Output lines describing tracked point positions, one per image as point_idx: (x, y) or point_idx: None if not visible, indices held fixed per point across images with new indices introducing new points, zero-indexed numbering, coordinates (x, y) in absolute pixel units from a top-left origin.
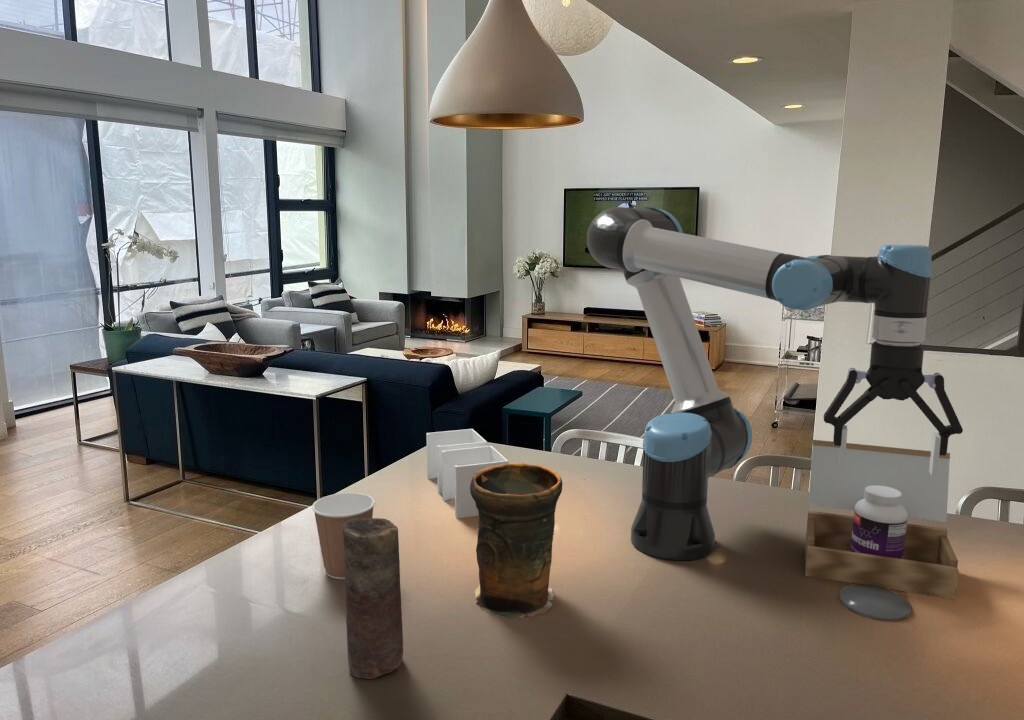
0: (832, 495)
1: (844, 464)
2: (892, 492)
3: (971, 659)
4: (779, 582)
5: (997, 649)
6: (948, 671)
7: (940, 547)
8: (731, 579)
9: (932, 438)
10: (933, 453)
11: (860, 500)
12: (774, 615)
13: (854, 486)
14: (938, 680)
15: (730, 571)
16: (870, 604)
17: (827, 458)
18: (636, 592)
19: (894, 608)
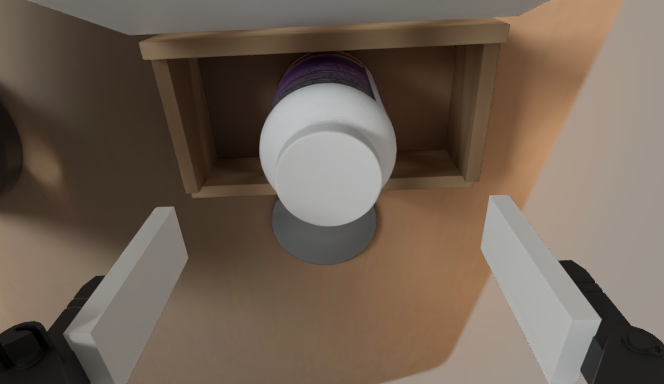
0: (182, 23)
1: (184, 263)
2: (355, 182)
3: (429, 304)
4: (175, 208)
5: (469, 275)
6: (397, 332)
7: (474, 57)
8: (104, 227)
9: (553, 299)
10: (514, 303)
11: (269, 150)
12: (197, 296)
13: (240, 12)
14: (383, 348)
15: (89, 202)
16: (317, 239)
17: None
18: (10, 306)
19: (351, 239)
